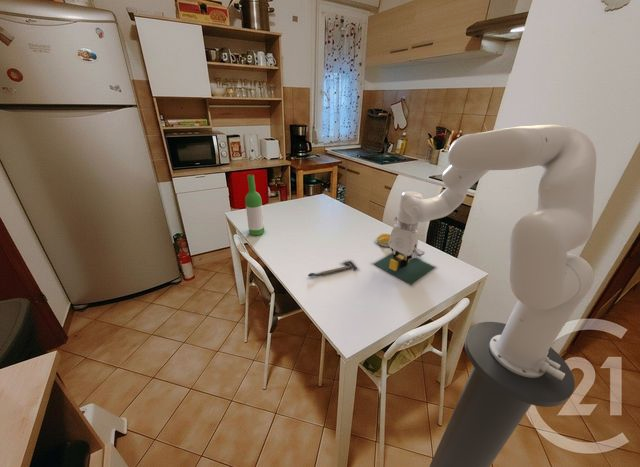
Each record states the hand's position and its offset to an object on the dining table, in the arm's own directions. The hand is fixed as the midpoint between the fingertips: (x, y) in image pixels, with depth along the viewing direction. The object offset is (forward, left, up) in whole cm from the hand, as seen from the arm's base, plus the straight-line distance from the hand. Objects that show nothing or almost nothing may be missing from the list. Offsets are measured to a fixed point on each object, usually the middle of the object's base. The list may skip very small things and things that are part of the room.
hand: (399, 264), depth 107 cm
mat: (0, -4, -3) cm, 5 cm away
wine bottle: (+66, +29, -3) cm, 72 cm away
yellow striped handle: (0, -5, 0) cm, 5 cm away
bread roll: (+17, -14, -3) cm, 22 cm away
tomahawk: (+17, +22, -3) cm, 28 cm away
